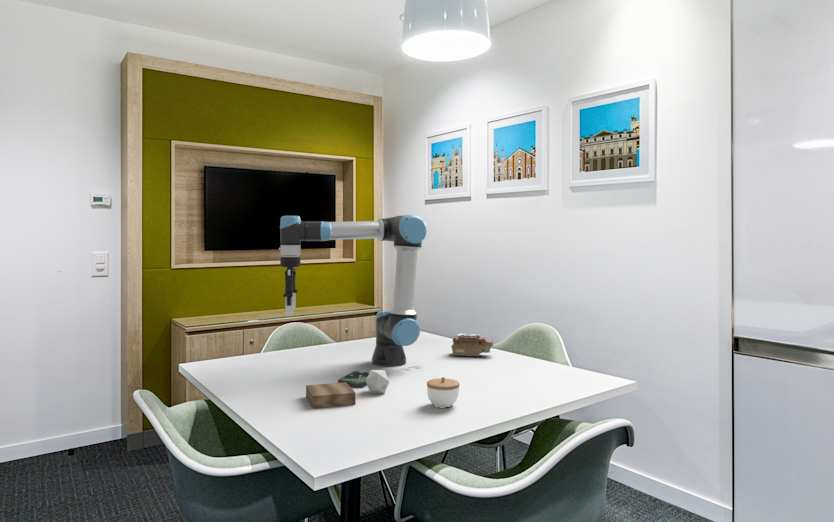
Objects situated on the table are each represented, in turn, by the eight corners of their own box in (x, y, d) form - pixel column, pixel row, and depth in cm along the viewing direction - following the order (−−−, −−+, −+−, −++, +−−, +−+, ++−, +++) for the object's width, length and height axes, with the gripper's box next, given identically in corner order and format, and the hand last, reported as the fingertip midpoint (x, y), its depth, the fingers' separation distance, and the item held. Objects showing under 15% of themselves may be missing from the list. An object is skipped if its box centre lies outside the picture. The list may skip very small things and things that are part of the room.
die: (379, 399, 194) (394, 375, 197) (359, 385, 196) (374, 362, 198) (380, 401, 202) (395, 377, 205) (360, 388, 203) (375, 365, 206)
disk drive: (353, 378, 223) (337, 386, 209) (353, 371, 223) (337, 379, 209) (377, 380, 220) (363, 389, 206) (377, 373, 220) (363, 381, 206)
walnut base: (345, 393, 198) (346, 382, 198) (355, 404, 185) (355, 392, 185) (306, 396, 194) (306, 385, 193) (312, 408, 180) (313, 396, 180)
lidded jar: (425, 401, 190) (425, 373, 190) (456, 400, 191) (456, 373, 191) (428, 410, 179) (428, 381, 179) (461, 410, 180) (461, 381, 180)
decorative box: (455, 351, 276) (456, 331, 275) (496, 354, 270) (496, 333, 269) (449, 356, 263) (449, 335, 263) (491, 359, 257) (492, 338, 257)
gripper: (283, 255, 226) (283, 307, 227) (277, 257, 201) (277, 316, 202) (302, 255, 227) (302, 307, 228) (298, 257, 202) (298, 316, 203)
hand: (290, 311), depth 215 cm, fingers open, 13 cm apart
